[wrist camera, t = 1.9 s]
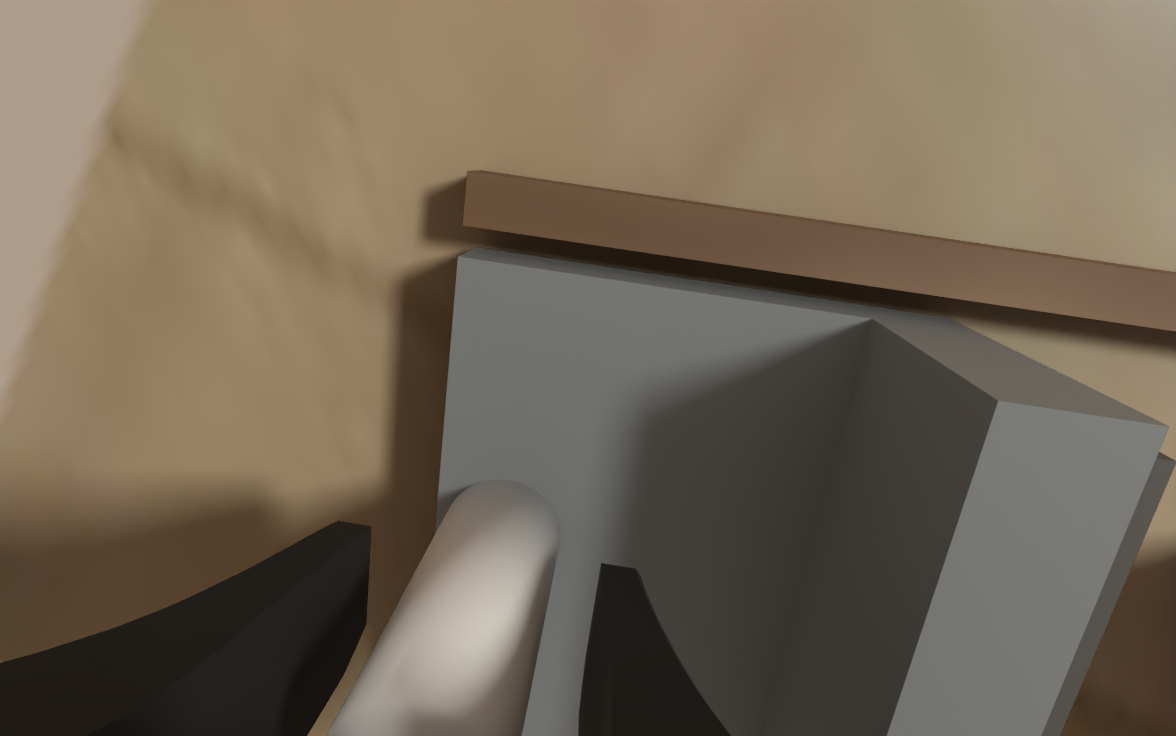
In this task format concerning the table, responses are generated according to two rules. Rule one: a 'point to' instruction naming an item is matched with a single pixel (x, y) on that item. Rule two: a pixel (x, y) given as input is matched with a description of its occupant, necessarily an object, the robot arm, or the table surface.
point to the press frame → (822, 249)
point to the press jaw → (758, 512)
